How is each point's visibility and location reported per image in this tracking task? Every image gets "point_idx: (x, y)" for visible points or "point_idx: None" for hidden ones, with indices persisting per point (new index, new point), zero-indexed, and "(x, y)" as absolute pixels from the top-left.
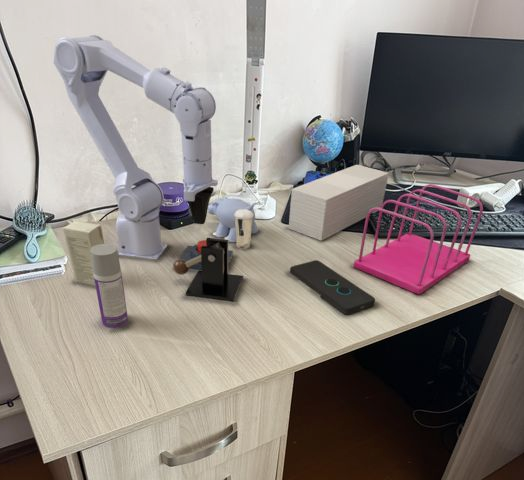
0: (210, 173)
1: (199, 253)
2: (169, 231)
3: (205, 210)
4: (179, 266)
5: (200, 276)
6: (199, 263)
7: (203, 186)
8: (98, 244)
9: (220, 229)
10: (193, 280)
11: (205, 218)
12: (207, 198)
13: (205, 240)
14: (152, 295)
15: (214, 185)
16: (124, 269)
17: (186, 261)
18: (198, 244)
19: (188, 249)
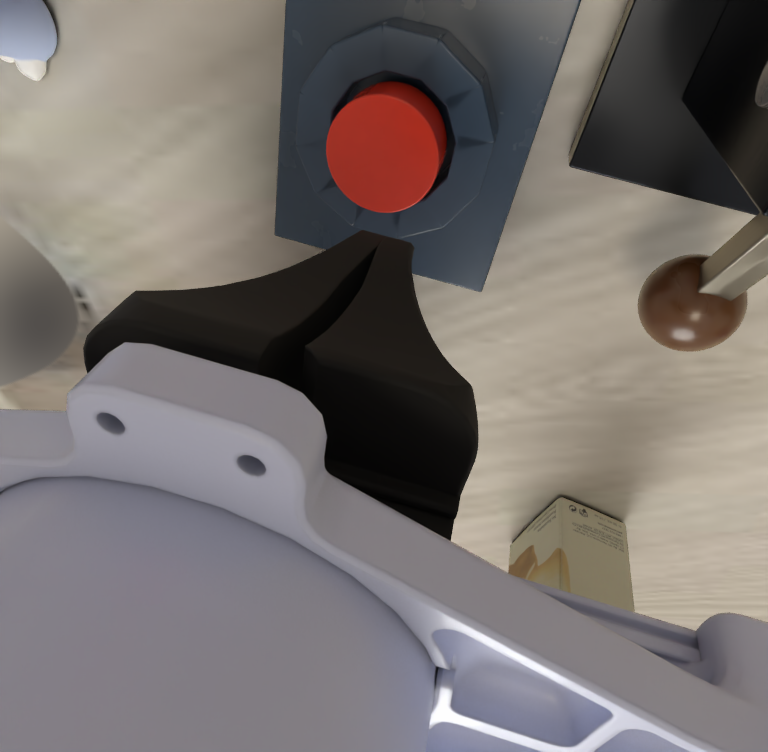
0: (139, 729)
1: (461, 184)
2: (101, 304)
3: (400, 296)
4: (739, 324)
5: (658, 154)
6: (502, 167)
7: (527, 644)
8: None
9: (2, 29)
10: (705, 197)
11: (371, 243)
12: (469, 395)
13: (332, 156)
14: (747, 373)
15: (315, 428)
16: (480, 456)
17: (706, 290)
18: (403, 205)
19: (324, 232)
